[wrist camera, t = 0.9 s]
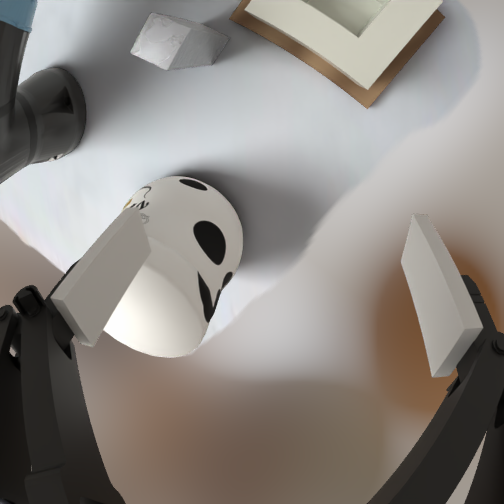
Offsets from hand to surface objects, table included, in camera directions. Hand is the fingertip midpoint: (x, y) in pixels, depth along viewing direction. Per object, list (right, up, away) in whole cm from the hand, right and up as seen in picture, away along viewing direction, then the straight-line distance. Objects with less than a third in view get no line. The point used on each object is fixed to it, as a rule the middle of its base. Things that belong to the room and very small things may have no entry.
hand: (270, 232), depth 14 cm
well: (+8, +24, +8) cm, 27 cm away
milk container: (-10, +3, +30) cm, 31 cm away
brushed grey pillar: (-6, +23, +14) cm, 27 cm away
